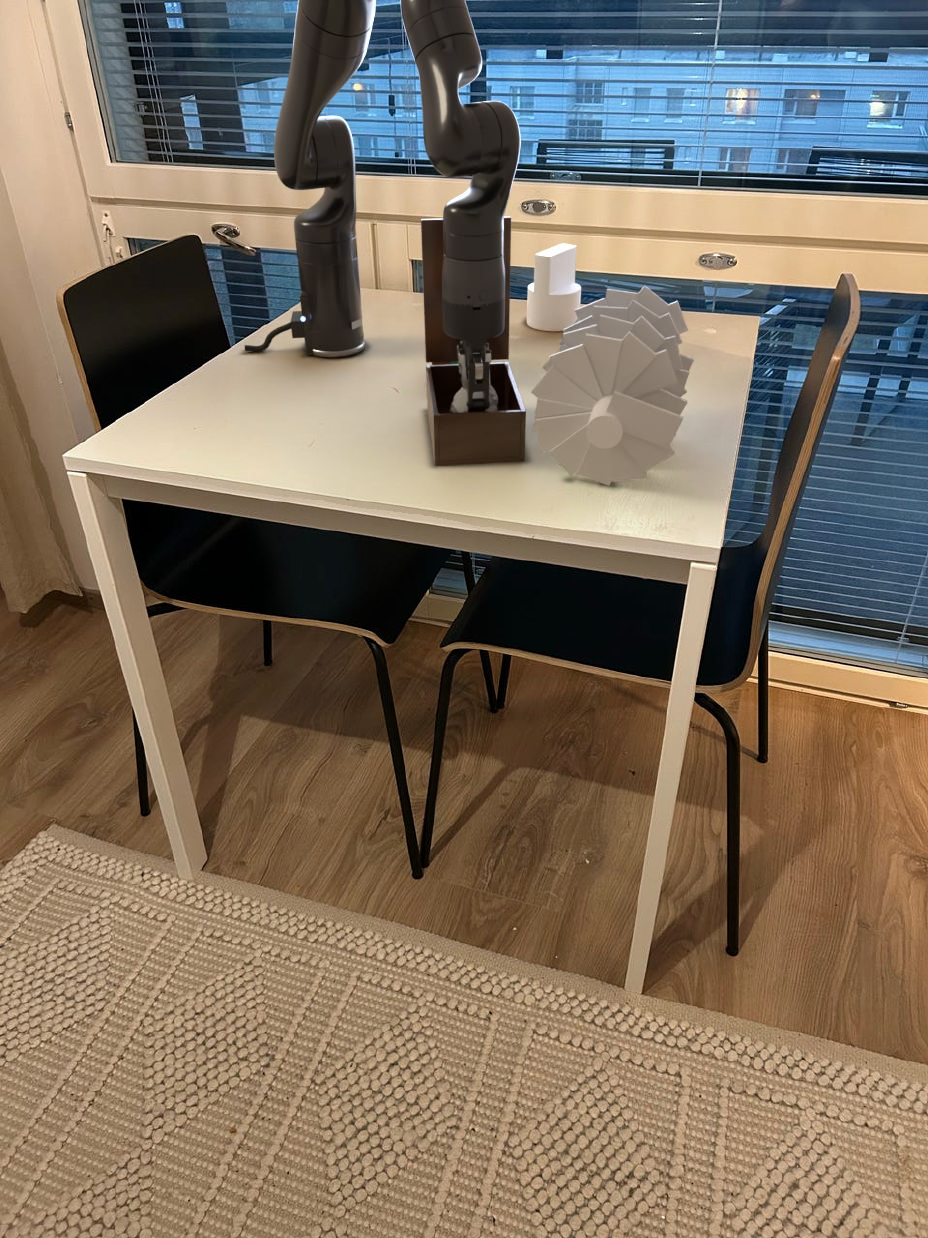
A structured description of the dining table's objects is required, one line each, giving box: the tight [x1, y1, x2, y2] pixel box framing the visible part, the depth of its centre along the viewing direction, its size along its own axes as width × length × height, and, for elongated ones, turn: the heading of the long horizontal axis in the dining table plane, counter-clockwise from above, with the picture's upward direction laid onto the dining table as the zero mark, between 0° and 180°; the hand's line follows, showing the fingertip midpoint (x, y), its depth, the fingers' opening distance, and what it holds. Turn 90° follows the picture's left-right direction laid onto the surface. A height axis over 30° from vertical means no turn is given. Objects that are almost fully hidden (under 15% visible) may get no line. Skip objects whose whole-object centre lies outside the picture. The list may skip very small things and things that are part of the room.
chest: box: [425, 361, 527, 466], centre depth 121 cm, size 17×11×7 cm, turn 5°
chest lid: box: [420, 215, 512, 364], centre depth 122 cm, size 18×11×5 cm
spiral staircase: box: [530, 285, 695, 487], centre depth 113 cm, size 18×18×25 cm
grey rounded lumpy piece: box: [450, 383, 498, 413], centre depth 120 cm, size 6×7×7 cm
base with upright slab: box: [526, 243, 582, 332], centre depth 157 cm, size 9×9×12 cm
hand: (474, 423), depth 121 cm, fingers closed on grey rounded lumpy piece, 6 cm apart
